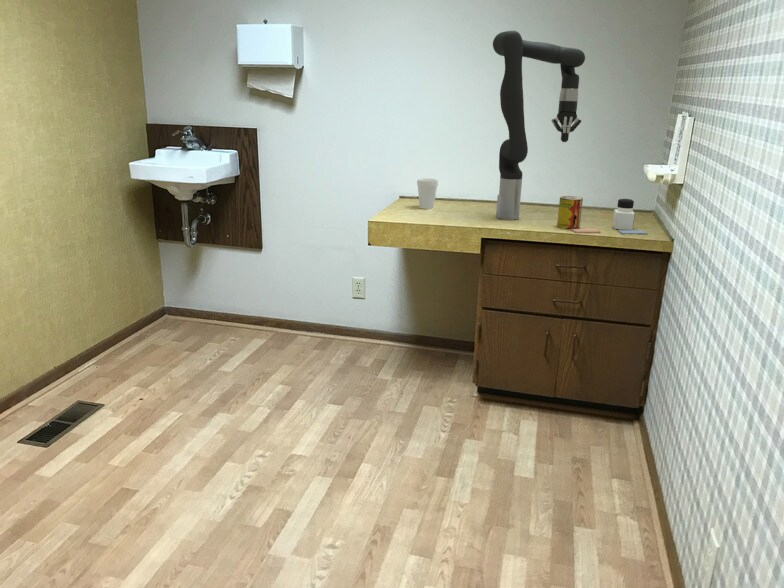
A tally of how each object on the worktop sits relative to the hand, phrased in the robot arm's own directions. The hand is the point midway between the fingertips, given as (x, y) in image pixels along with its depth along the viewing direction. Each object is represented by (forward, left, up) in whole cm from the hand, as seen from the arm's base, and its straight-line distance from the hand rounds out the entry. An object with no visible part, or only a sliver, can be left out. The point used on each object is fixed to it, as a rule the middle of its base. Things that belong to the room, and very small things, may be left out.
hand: (564, 141), depth 276 cm
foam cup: (-56, +18, -32) cm, 67 cm away
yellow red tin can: (-4, -24, -32) cm, 40 cm away
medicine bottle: (+18, -27, -32) cm, 46 cm away
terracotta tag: (0, -33, -32) cm, 46 cm away
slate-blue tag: (+18, -36, -32) cm, 51 cm away
